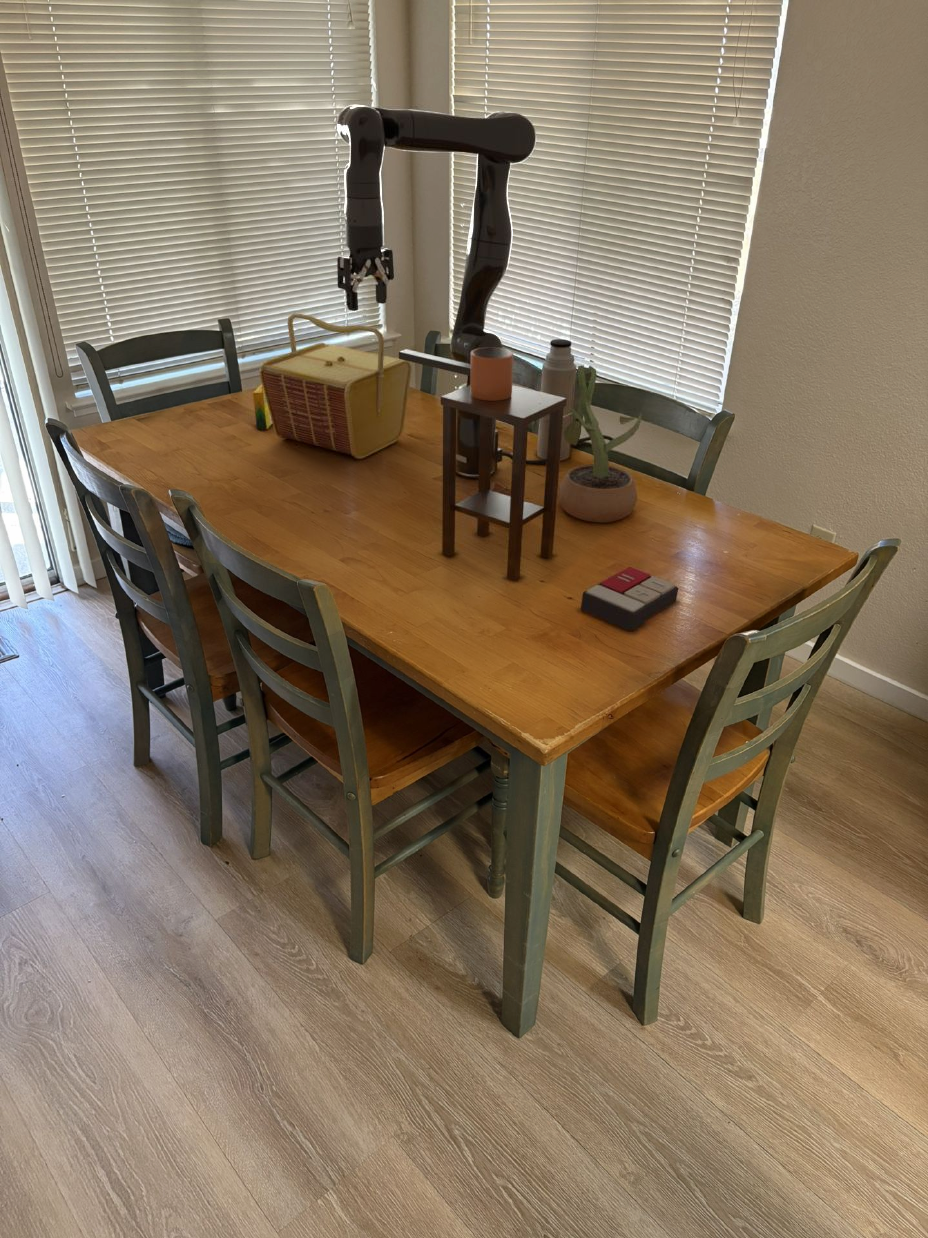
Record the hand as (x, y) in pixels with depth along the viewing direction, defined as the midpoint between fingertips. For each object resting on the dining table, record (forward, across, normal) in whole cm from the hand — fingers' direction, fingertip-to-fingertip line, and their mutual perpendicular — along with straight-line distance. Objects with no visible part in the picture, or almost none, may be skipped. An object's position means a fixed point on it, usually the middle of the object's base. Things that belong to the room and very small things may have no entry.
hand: (367, 306), depth 191 cm
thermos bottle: (+40, +43, -21) cm, 63 cm away
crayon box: (+40, +13, +50) cm, 65 cm away
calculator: (+40, -10, -71) cm, 82 cm away
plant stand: (+40, -9, -41) cm, 58 cm away
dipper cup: (+8, -9, -30) cm, 32 cm away
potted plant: (+40, +23, -43) cm, 63 cm away
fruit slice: (+40, +10, -29) cm, 51 cm away
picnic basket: (+40, +17, +26) cm, 51 cm away
